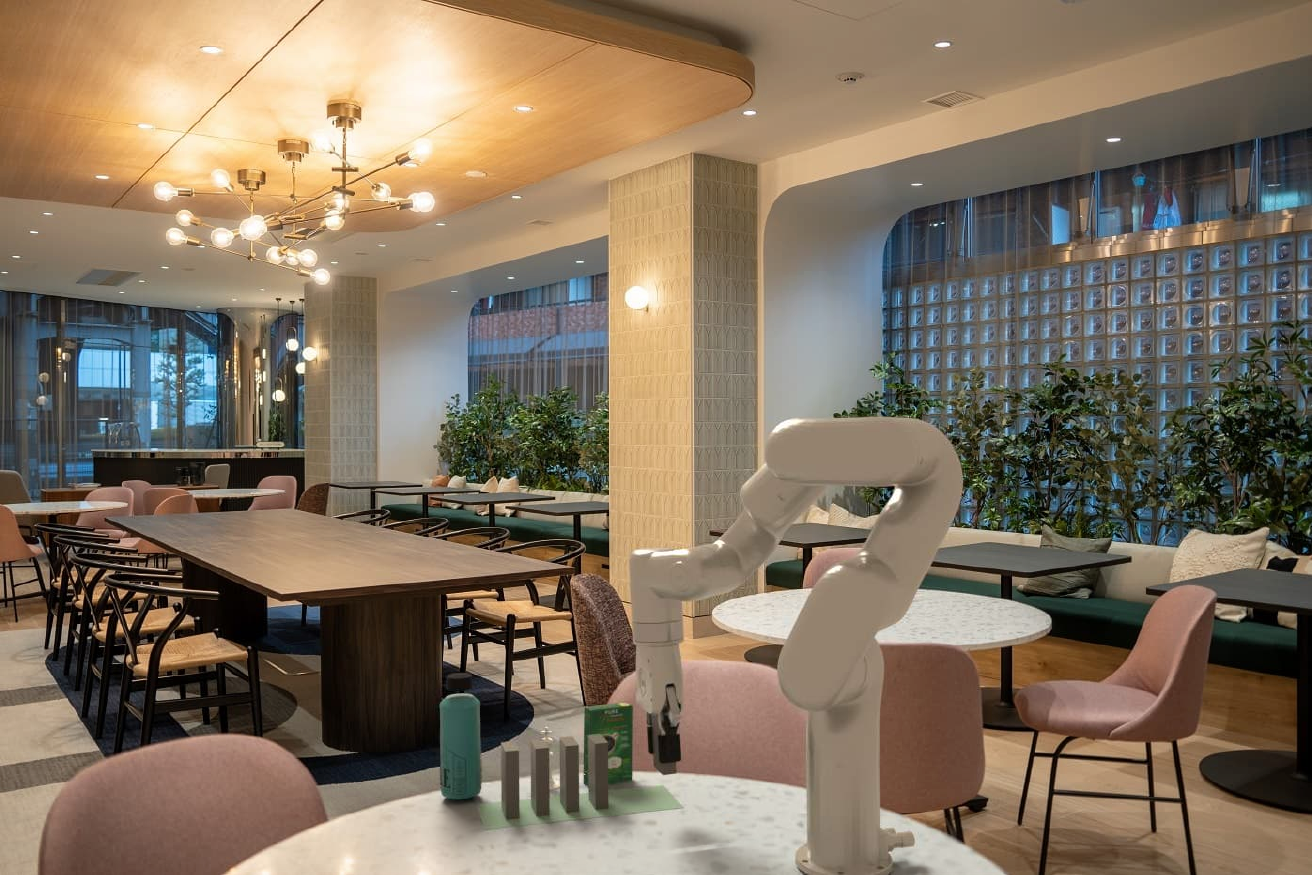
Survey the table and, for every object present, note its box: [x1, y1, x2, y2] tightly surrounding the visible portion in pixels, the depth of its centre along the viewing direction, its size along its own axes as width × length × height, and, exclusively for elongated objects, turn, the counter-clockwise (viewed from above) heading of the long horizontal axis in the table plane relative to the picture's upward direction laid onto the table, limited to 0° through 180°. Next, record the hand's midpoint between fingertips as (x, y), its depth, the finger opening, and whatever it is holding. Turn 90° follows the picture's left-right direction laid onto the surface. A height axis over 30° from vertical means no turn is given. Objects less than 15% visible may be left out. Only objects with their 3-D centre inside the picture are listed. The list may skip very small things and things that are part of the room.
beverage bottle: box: [438, 672, 483, 800], centre depth 162 cm, size 6×7×20 cm
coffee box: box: [583, 701, 634, 787], centre depth 170 cm, size 8×3×13 cm, turn 119°
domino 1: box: [500, 740, 520, 820], centre depth 155 cm, size 2×5×10 cm, turn 16°
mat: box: [475, 784, 684, 831], centre depth 158 cm, size 30×11×1 cm, turn 106°
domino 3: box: [558, 735, 580, 813], centre depth 158 cm, size 2×5×10 cm, turn 16°
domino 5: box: [651, 708, 678, 776], centre depth 152 cm, size 2×5×10 cm, turn 16°
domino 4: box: [587, 734, 609, 810], centre depth 159 cm, size 2×5×10 cm, turn 16°
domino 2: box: [530, 738, 551, 817], centre depth 156 cm, size 2×5×10 cm, turn 16°
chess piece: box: [540, 726, 560, 791], centre depth 168 cm, size 5×5×10 cm
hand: (664, 755), depth 152 cm, fingers closed on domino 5, 4 cm apart
